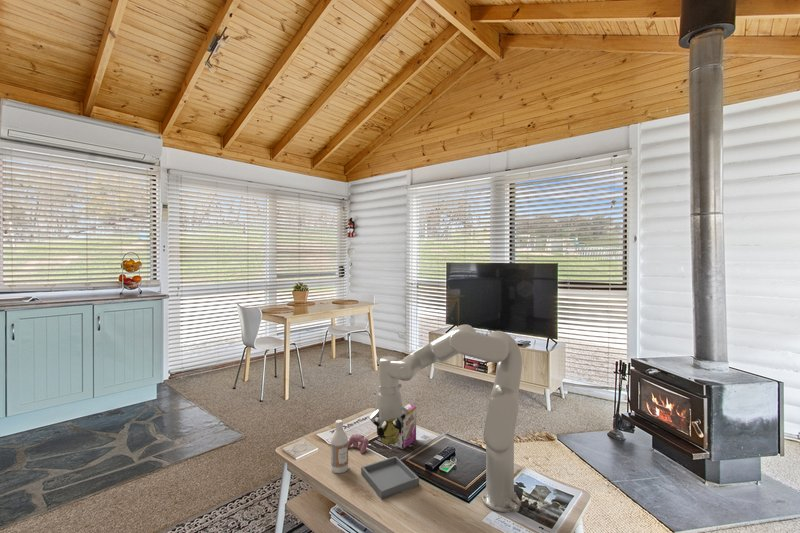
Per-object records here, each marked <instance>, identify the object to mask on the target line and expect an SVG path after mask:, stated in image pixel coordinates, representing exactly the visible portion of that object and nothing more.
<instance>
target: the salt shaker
mask: <svg viewBox="0 0 800 533" xmlns="http://www.w3.org/2000/svg"><path fill="white" fill-rule="evenodd" d="M395 419H396V418H393V419H390V420H386V421H385V424H384V425H382V428H383V438H380V437H379V438H380V443H383V444H384V445H395V443H397V442H398V441H399V428H398V427H397V426H396V425H395Z"/></svg>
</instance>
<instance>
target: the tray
mask: <svg viewBox="0 0 800 533" xmlns="http://www.w3.org/2000/svg"><path fill="white" fill-rule="evenodd" d="M360 474H361V477H363V479H364V480H365V481H366V483H368V485H369V486H370V487H371V488H372V490H373V491H374V492H375V493H376V494H377V496H378V497H379V498H380V500H384V499H387V498H390V497H392V496H394V495H397V494H401V493H402V492H406V491H408V490H410V489H414V488H417V487H419V486H420V477H419V476H418V475H417V474H415V472H414V471H413V470H412V469H410V468H409V467H408V466H407V465H406V464H405V463H404V461H402V460H401V459H400V458H398V456H396V455H395V456H391V457H389V458H385V459H381V460H379V461H376V462H373V463H369V464H366V465H363V466H361V467H360Z"/></svg>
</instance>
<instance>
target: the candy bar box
mask: <svg viewBox="0 0 800 533" xmlns="http://www.w3.org/2000/svg"><path fill="white" fill-rule="evenodd" d="M403 407H404V408H406V409H407V410H408V413H407V414H406V417H405V418H404V420H403V422H402V430H401V433H399V441H398V442H397V443H394V447H395V448H397V449H398V448H399V449H400V450H404V449H405V448H407V447H408V446H410V445H411V444H412V443H414V442H416V441H417V406H416V405H413V404H406V405H405V406H404V405H403ZM396 420H397V418H396V419H395V420H394V424H395V425H396Z"/></svg>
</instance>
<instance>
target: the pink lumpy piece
mask: <svg viewBox="0 0 800 533" xmlns="http://www.w3.org/2000/svg"><path fill="white" fill-rule="evenodd" d="M369 442H370V441H369V439H368V438H367V437H366V436H364V435H362V434H359V433H358V434H355V433H354V434H352V435H351V436H350V437H349V438H348V449H350V448H351V446H352V447H353V448H358V449H359V450H360V454H364V453H365V452H366V450H367V448H368V445H369Z"/></svg>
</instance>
